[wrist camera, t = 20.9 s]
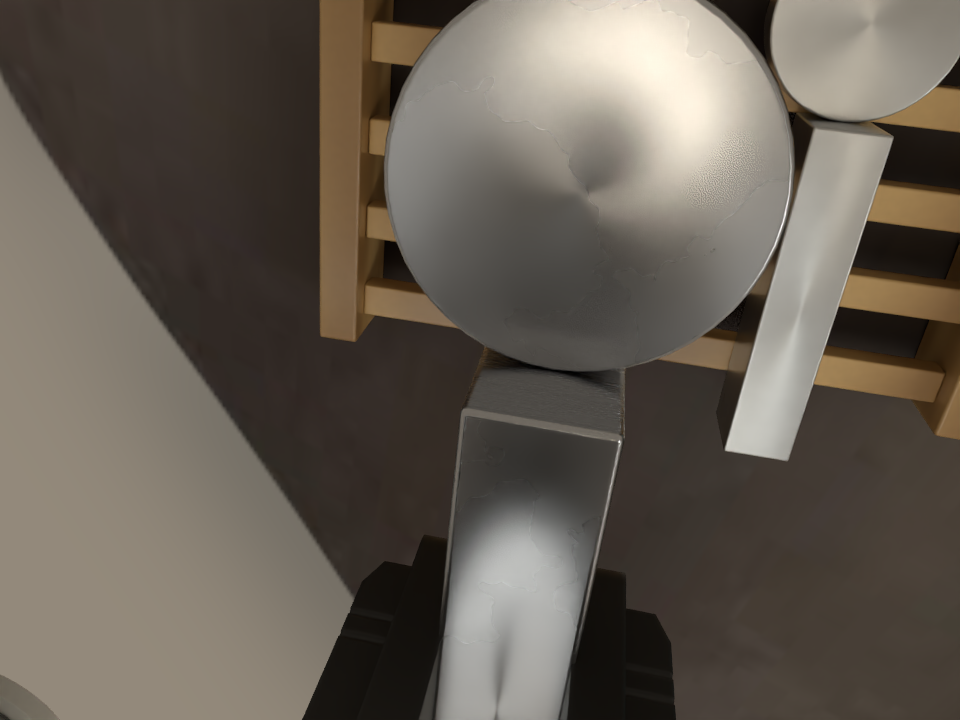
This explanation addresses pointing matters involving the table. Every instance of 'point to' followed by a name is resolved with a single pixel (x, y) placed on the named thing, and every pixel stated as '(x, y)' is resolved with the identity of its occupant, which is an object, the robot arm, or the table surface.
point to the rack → (925, 379)
